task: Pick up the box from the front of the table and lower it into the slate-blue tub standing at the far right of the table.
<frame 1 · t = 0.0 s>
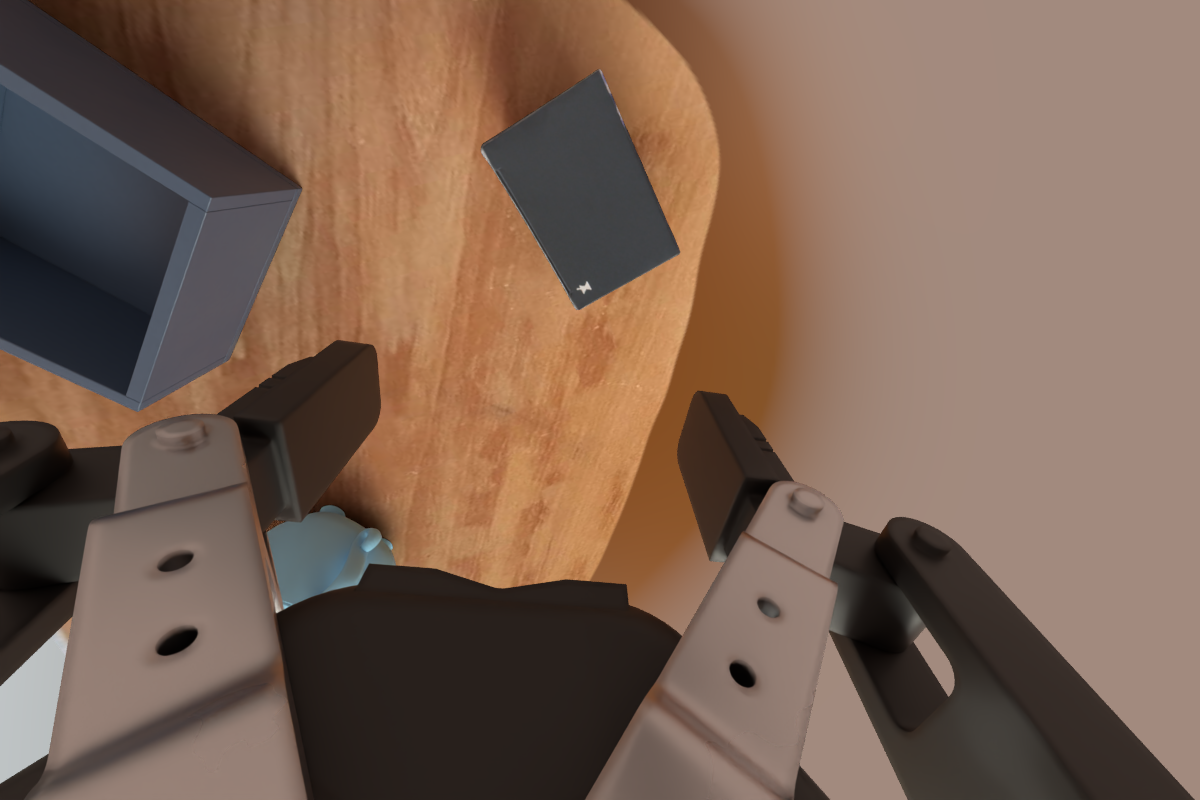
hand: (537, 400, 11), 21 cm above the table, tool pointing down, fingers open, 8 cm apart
tub: (141, 209, 27), on the table
teapot: (348, 546, 42), on the table
box: (584, 190, 28), on the table
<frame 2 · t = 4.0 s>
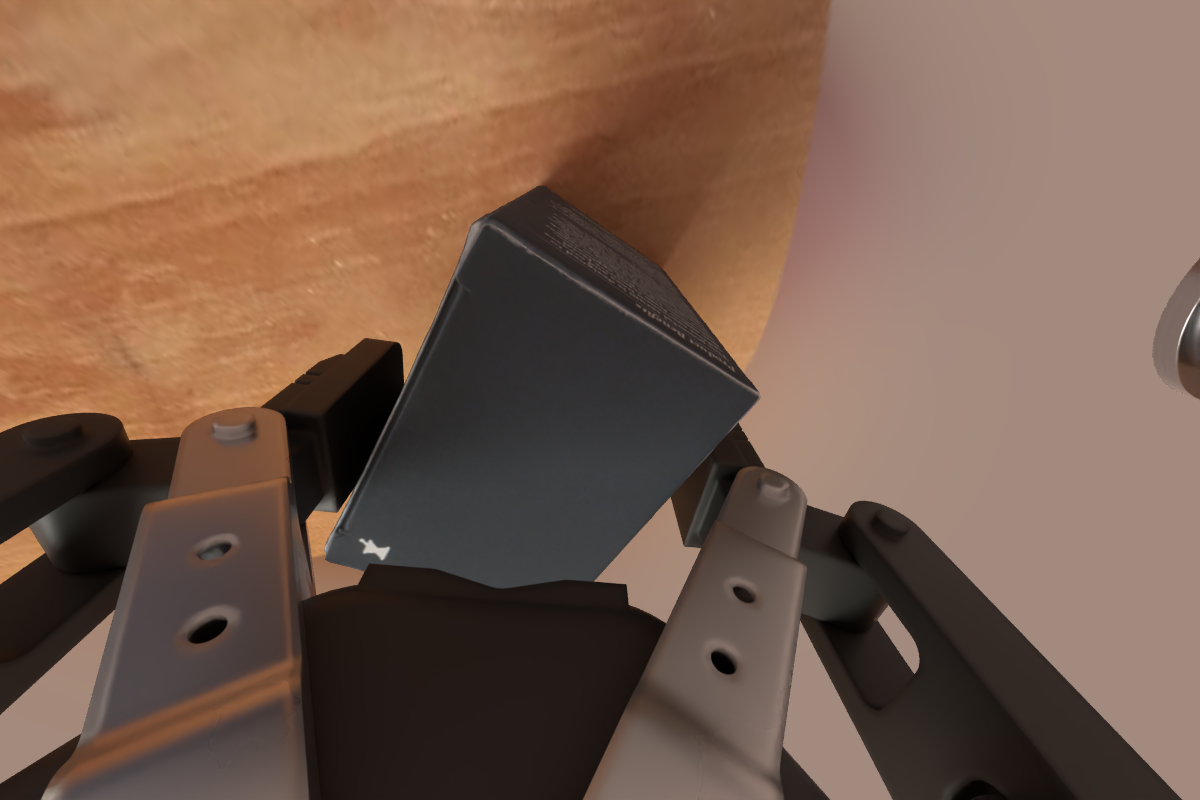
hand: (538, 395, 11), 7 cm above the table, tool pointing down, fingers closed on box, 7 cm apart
box: (553, 311, 18), on the table, touching gripper
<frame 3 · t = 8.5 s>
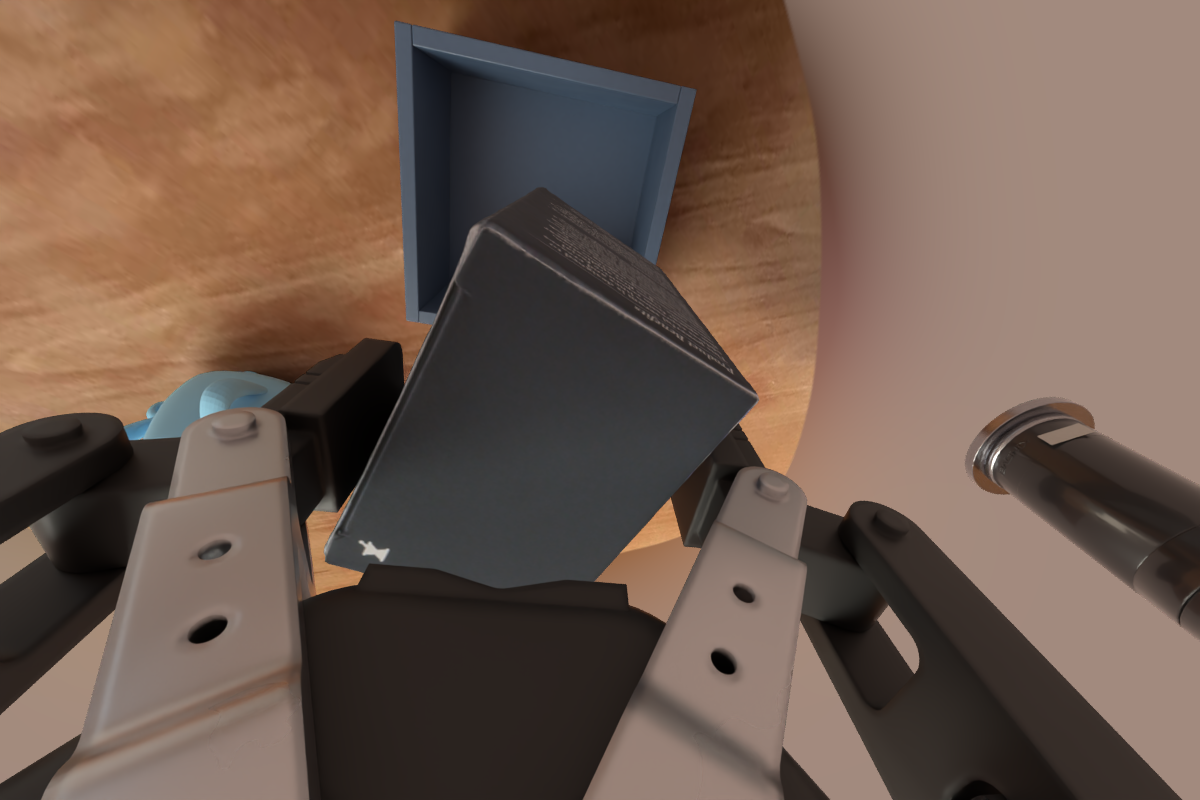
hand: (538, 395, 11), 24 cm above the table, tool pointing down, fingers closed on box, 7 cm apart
tub: (545, 205, 31), on the table
teapot: (285, 423, 39), on the table
box: (552, 312, 18), point 17 cm above the table, touching gripper
when the fingers open (8 cm above the table, at t = 12.9 s): box stays where it is, resting on tub.
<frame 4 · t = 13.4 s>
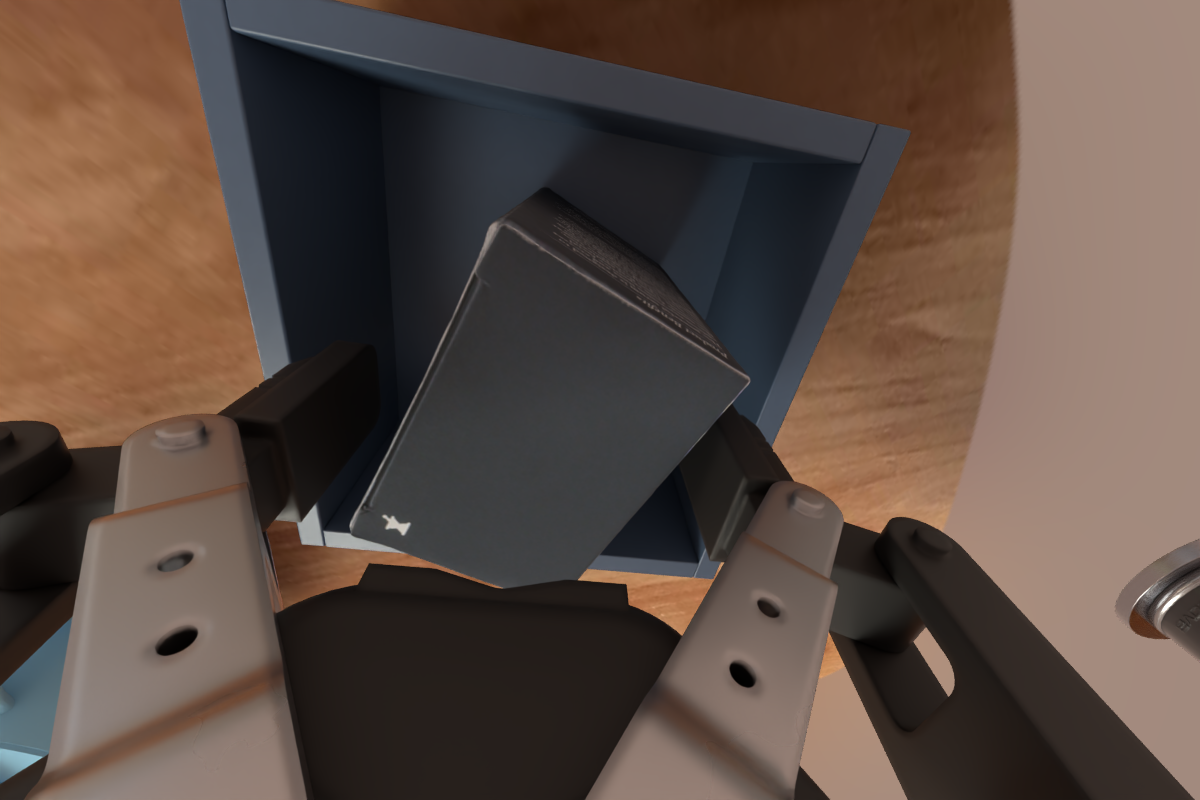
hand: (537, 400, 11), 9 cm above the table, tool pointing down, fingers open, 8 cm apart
tub: (554, 303, 19), on the table
teapot: (173, 594, 27), on the table
box: (556, 307, 18), resting on tub
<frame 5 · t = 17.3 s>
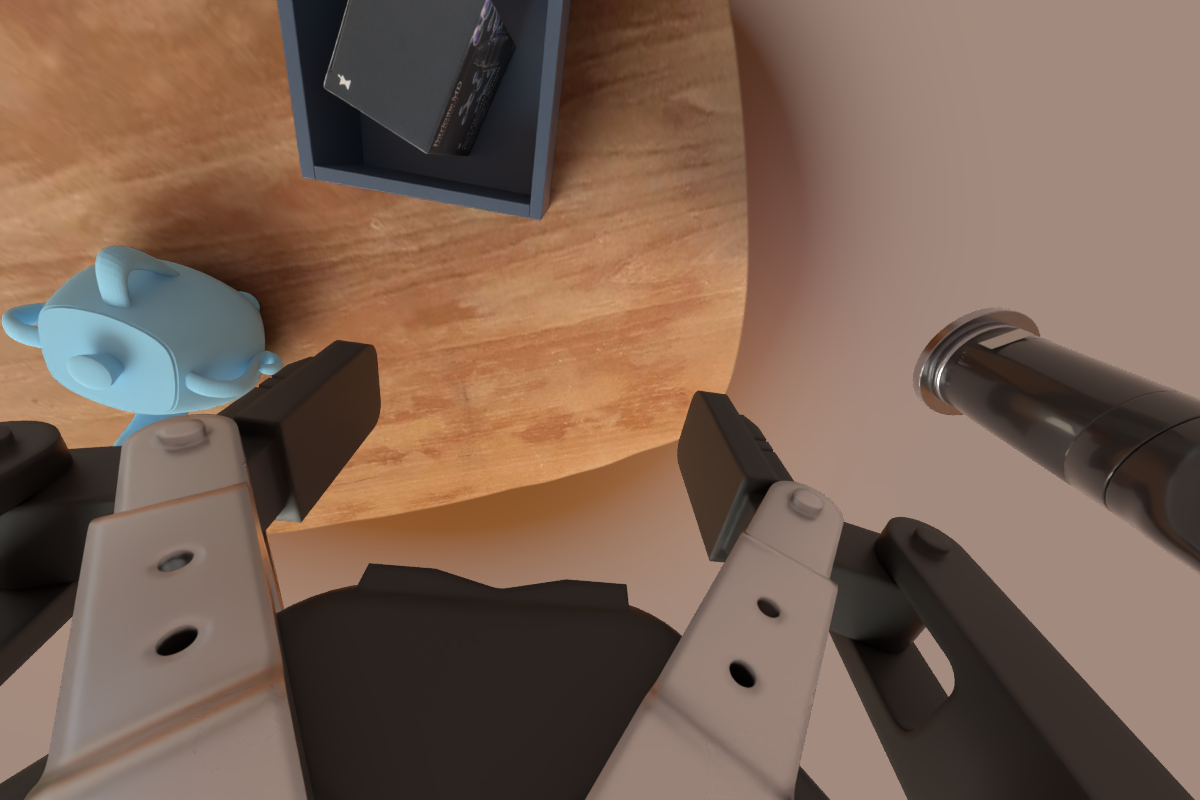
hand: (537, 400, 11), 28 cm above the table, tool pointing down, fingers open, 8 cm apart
tub: (457, 78, 30), on the table
teapot: (212, 327, 38), on the table
box: (457, 78, 30), resting on tub
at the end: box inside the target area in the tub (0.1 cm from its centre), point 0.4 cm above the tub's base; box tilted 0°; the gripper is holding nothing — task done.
